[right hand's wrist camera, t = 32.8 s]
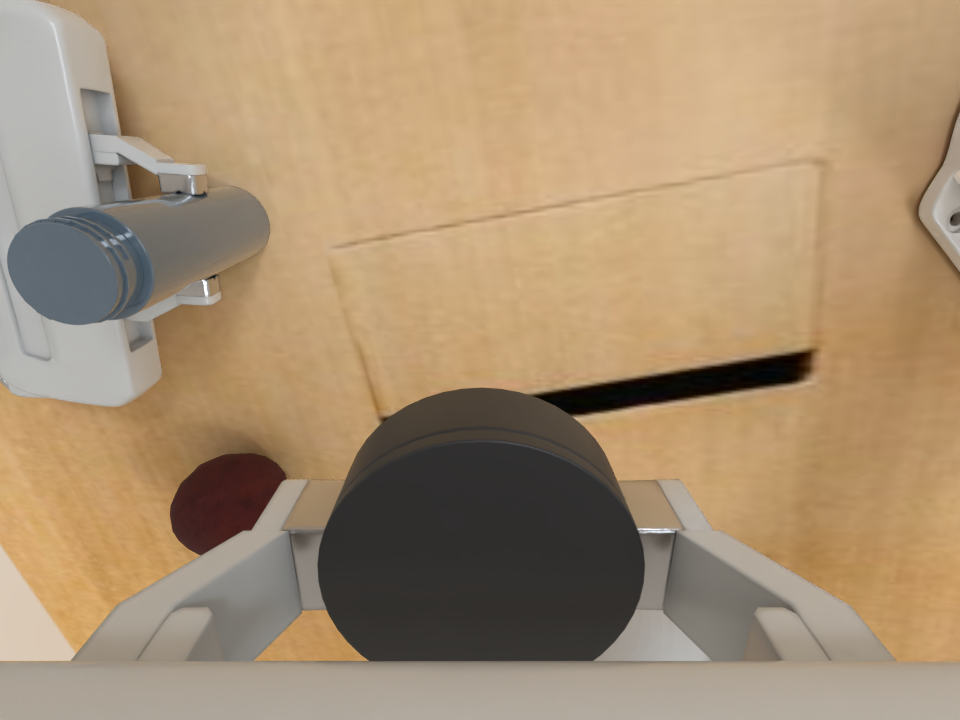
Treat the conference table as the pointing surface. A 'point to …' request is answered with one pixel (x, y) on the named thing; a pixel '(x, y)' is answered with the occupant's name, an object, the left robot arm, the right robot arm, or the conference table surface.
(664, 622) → the white rounded housing
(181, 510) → the potato
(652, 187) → the conference table surface
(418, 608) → the lid
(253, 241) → the grey cylinder
